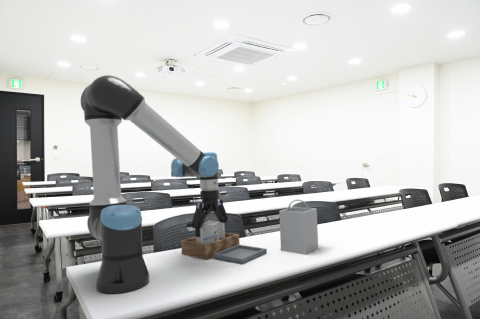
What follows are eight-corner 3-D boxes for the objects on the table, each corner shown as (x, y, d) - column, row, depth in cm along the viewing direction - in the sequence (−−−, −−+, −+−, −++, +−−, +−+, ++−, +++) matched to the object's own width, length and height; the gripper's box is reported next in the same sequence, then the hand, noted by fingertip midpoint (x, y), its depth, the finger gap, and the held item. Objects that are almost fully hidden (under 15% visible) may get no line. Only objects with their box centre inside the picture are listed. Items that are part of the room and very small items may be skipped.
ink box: (208, 248, 138) (207, 220, 138) (220, 248, 137) (219, 220, 137) (202, 253, 129) (201, 224, 129) (214, 253, 128) (213, 224, 128)
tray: (242, 264, 113) (242, 259, 113) (213, 258, 122) (213, 253, 122) (266, 253, 126) (266, 248, 126) (239, 248, 134) (238, 244, 134)
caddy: (306, 254, 123) (304, 212, 123) (280, 250, 130) (279, 210, 130) (318, 247, 132) (316, 208, 132) (293, 244, 139) (292, 207, 139)
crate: (207, 259, 121) (206, 244, 121) (181, 254, 129) (181, 240, 129) (239, 247, 137) (239, 234, 137) (214, 243, 145) (214, 231, 145)
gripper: (194, 192, 121) (196, 249, 121) (235, 187, 141) (236, 236, 141) (180, 192, 126) (182, 247, 125) (221, 187, 145) (223, 234, 145)
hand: (211, 241), depth 133 cm, fingers open, 13 cm apart
